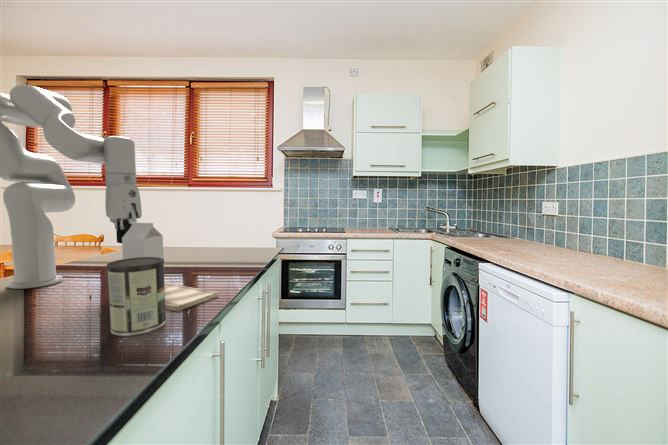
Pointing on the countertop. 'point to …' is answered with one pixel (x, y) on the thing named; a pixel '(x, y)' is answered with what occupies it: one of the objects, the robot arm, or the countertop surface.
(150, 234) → the milk carton
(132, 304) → the coffee can
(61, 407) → the countertop surface
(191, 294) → the beech board
